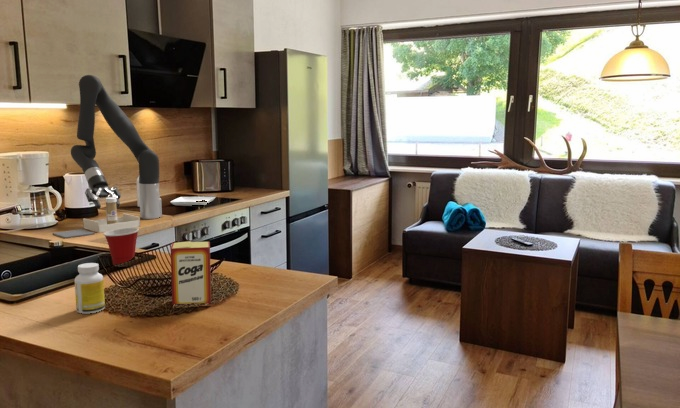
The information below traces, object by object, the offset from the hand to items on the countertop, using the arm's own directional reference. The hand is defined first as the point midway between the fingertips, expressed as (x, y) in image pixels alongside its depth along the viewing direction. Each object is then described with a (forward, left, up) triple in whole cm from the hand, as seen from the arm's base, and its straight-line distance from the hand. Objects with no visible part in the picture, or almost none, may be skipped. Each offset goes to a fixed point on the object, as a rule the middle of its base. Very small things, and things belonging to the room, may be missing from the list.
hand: (109, 206), depth 237 cm
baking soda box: (+35, +115, -9) cm, 120 cm away
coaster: (+18, +5, -9) cm, 21 cm away
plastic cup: (+29, +67, -9) cm, 73 cm away
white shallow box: (0, +2, -9) cm, 9 cm away
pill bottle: (+55, +101, -9) cm, 115 cm away
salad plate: (-67, -34, -10) cm, 76 cm away
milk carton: (-43, -44, -9) cm, 63 cm away
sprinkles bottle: (0, +2, -9) cm, 10 cm away
